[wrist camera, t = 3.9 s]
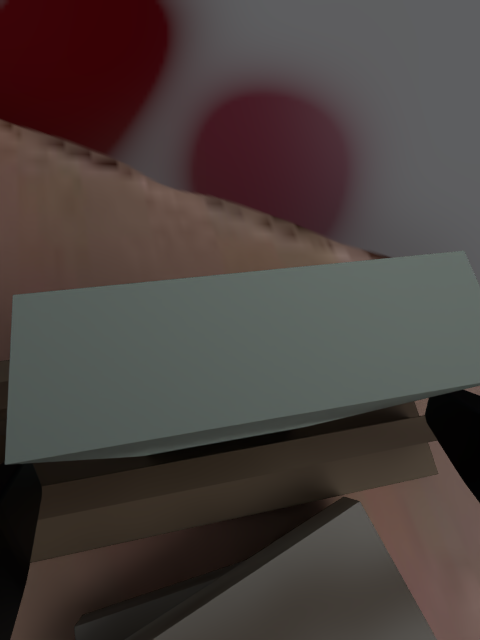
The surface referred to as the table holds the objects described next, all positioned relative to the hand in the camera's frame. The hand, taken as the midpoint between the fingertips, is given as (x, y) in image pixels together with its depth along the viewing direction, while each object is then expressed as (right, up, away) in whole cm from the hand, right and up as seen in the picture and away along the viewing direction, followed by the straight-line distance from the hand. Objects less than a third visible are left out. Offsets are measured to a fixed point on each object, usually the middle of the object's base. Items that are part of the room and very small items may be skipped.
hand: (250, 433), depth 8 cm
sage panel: (-1, -2, +8) cm, 8 cm away
